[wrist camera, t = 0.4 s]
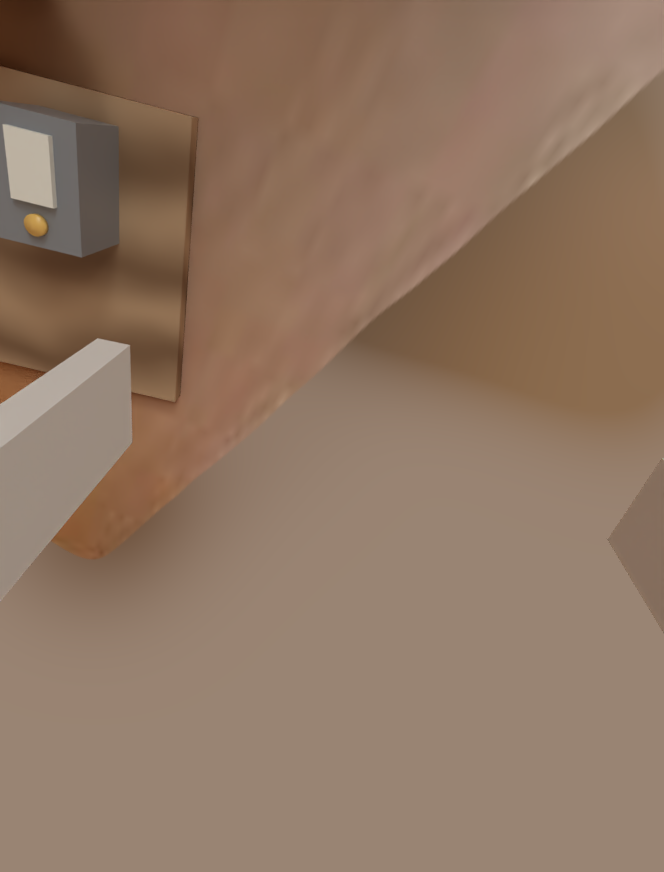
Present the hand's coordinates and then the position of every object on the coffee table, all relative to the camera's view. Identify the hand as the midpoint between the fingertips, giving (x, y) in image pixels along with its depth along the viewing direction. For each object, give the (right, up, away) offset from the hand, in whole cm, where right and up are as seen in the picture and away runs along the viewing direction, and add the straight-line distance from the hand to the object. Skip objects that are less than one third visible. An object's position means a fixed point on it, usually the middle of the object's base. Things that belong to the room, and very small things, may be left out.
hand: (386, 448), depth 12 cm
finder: (-18, +17, +19) cm, 31 cm away
